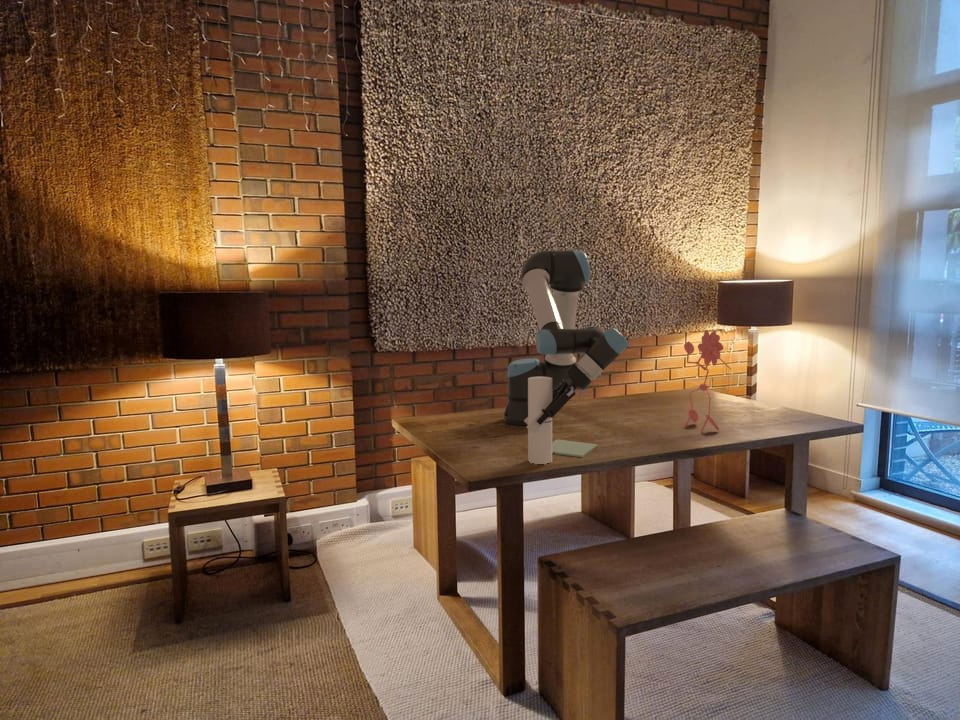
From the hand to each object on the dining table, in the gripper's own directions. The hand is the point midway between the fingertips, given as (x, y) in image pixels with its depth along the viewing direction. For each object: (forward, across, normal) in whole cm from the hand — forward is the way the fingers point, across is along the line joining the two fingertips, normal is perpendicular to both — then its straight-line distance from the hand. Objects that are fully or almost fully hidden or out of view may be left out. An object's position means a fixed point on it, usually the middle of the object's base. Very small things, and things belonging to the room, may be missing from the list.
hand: (528, 426), depth 189 cm
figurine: (-41, +36, -56) cm, 78 cm away
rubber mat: (-3, +12, -17) cm, 22 cm away
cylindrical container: (+5, 0, -10) cm, 11 cm away
